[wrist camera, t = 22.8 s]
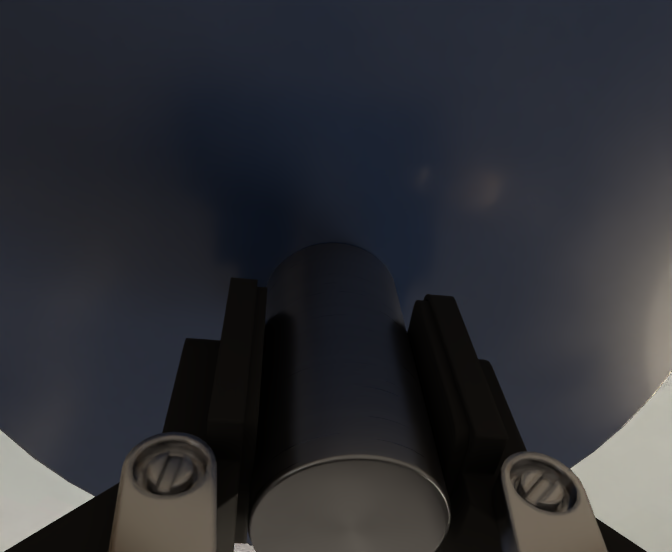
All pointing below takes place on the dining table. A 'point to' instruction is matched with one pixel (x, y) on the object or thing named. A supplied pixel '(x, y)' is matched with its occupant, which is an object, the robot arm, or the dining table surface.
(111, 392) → the lid
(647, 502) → the dining table surface
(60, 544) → the robot arm
